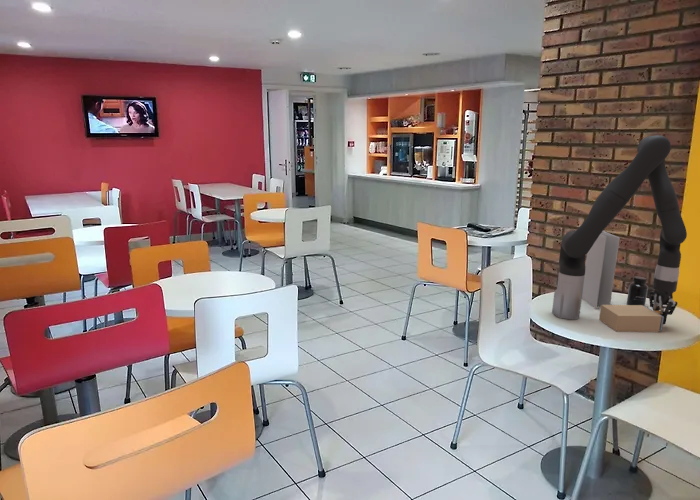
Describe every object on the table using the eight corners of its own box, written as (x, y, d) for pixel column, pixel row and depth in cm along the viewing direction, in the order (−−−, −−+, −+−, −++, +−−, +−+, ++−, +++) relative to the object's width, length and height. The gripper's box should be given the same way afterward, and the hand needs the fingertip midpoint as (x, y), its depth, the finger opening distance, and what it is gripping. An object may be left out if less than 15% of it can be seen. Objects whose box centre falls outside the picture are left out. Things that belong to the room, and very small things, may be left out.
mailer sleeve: (615, 331, 186) (618, 315, 185) (599, 319, 198) (601, 304, 196) (659, 331, 186) (661, 316, 185) (639, 320, 198) (642, 305, 197)
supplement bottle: (637, 308, 212) (641, 280, 209) (622, 303, 218) (626, 276, 215) (648, 306, 214) (653, 279, 212) (634, 301, 220) (638, 274, 218)
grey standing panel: (609, 309, 209) (620, 237, 203) (596, 309, 209) (606, 237, 203) (593, 298, 223) (603, 230, 217) (581, 298, 223) (590, 230, 217)
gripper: (644, 272, 195) (637, 315, 199) (668, 282, 181) (660, 328, 185) (663, 272, 195) (656, 315, 199) (689, 283, 182) (680, 329, 185)
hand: (658, 321), depth 192 cm, fingers open, 3 cm apart
